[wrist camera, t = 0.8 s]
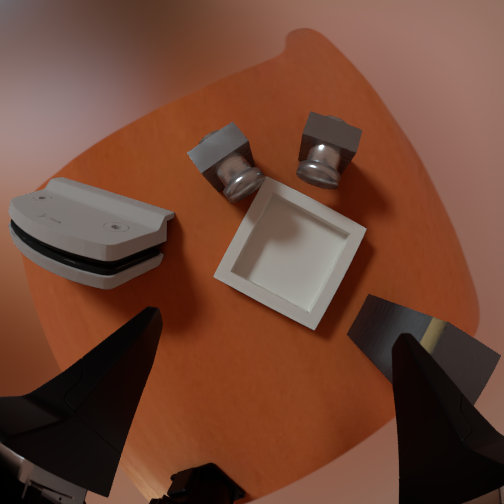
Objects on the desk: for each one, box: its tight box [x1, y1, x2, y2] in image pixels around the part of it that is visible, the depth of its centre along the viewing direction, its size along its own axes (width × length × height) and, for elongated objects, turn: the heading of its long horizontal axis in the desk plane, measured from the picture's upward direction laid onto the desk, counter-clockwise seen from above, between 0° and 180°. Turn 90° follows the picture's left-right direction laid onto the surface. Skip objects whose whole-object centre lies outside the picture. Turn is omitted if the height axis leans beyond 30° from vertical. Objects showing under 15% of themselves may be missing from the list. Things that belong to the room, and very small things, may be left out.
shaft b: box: [187, 122, 266, 203], centre depth 22 cm, size 5×4×6 cm
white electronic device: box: [9, 177, 175, 289], centre depth 22 cm, size 17×5×10 cm, turn 71°
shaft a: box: [296, 111, 362, 190], centre depth 21 cm, size 5×4×6 cm
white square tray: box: [213, 176, 367, 330], centre depth 23 cm, size 9×9×2 cm
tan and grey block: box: [347, 294, 501, 406], centre depth 17 cm, size 5×4×13 cm
